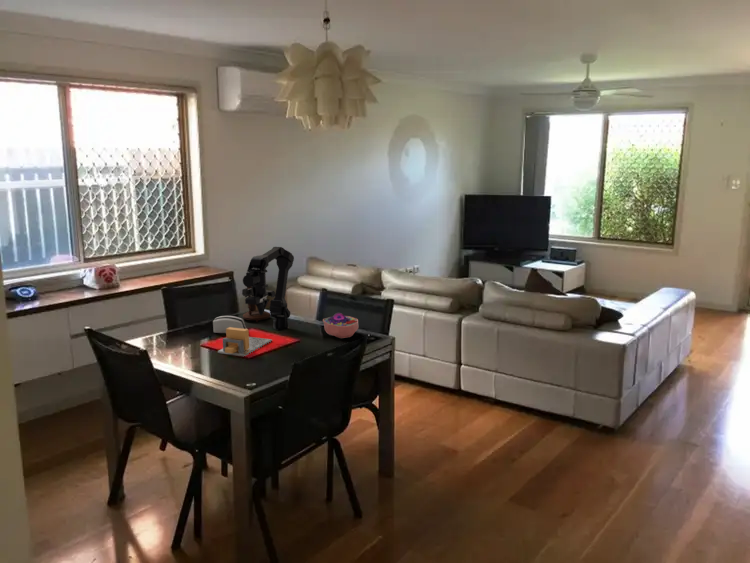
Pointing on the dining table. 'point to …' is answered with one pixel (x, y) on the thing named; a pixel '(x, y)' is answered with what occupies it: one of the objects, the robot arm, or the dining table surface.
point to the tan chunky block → (237, 334)
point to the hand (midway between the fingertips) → (261, 314)
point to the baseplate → (251, 346)
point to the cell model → (340, 325)
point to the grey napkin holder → (227, 323)
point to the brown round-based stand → (255, 312)
